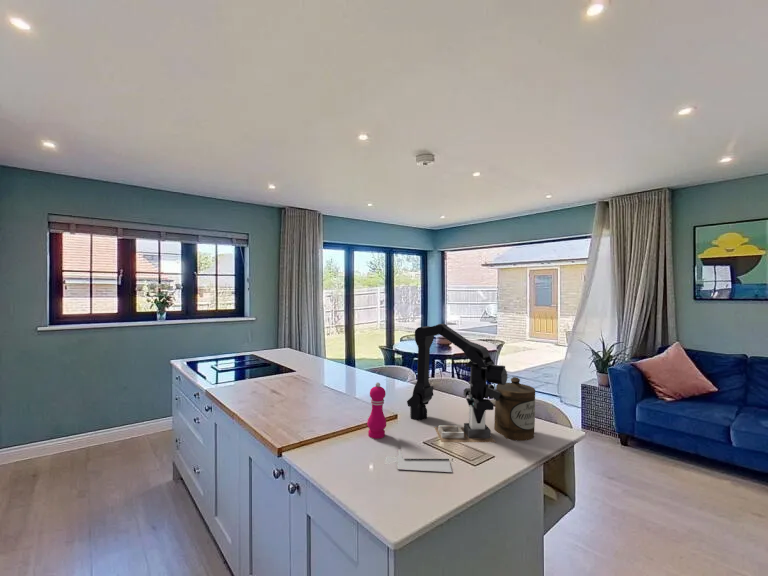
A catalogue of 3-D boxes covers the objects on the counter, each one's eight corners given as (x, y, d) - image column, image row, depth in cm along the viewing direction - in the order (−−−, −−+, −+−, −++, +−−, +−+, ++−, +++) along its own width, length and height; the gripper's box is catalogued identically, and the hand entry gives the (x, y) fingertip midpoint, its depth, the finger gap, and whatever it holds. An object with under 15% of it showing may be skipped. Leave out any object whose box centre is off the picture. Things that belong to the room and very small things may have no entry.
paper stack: (456, 491, 104) (456, 488, 104) (367, 486, 105) (367, 483, 105) (447, 453, 127) (447, 451, 127) (373, 450, 129) (373, 448, 129)
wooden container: (521, 444, 136) (522, 384, 136) (486, 431, 148) (488, 376, 147) (541, 435, 146) (543, 378, 145) (507, 423, 157) (509, 371, 157)
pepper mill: (384, 440, 137) (385, 385, 137) (364, 438, 138) (366, 384, 138) (387, 432, 144) (389, 380, 144) (369, 430, 145) (370, 379, 145)
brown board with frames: (441, 444, 134) (441, 433, 134) (434, 429, 148) (434, 419, 148) (496, 445, 135) (496, 433, 135) (483, 430, 149) (484, 420, 149)
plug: (471, 429, 140) (472, 405, 140) (468, 425, 144) (469, 401, 144) (485, 429, 140) (485, 405, 140) (481, 425, 144) (482, 401, 144)
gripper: (508, 387, 133) (507, 430, 133) (490, 374, 151) (489, 413, 151) (477, 386, 132) (476, 430, 132) (463, 374, 151) (462, 412, 151)
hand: (477, 421), depth 142 cm, fingers closed on plug, 4 cm apart
